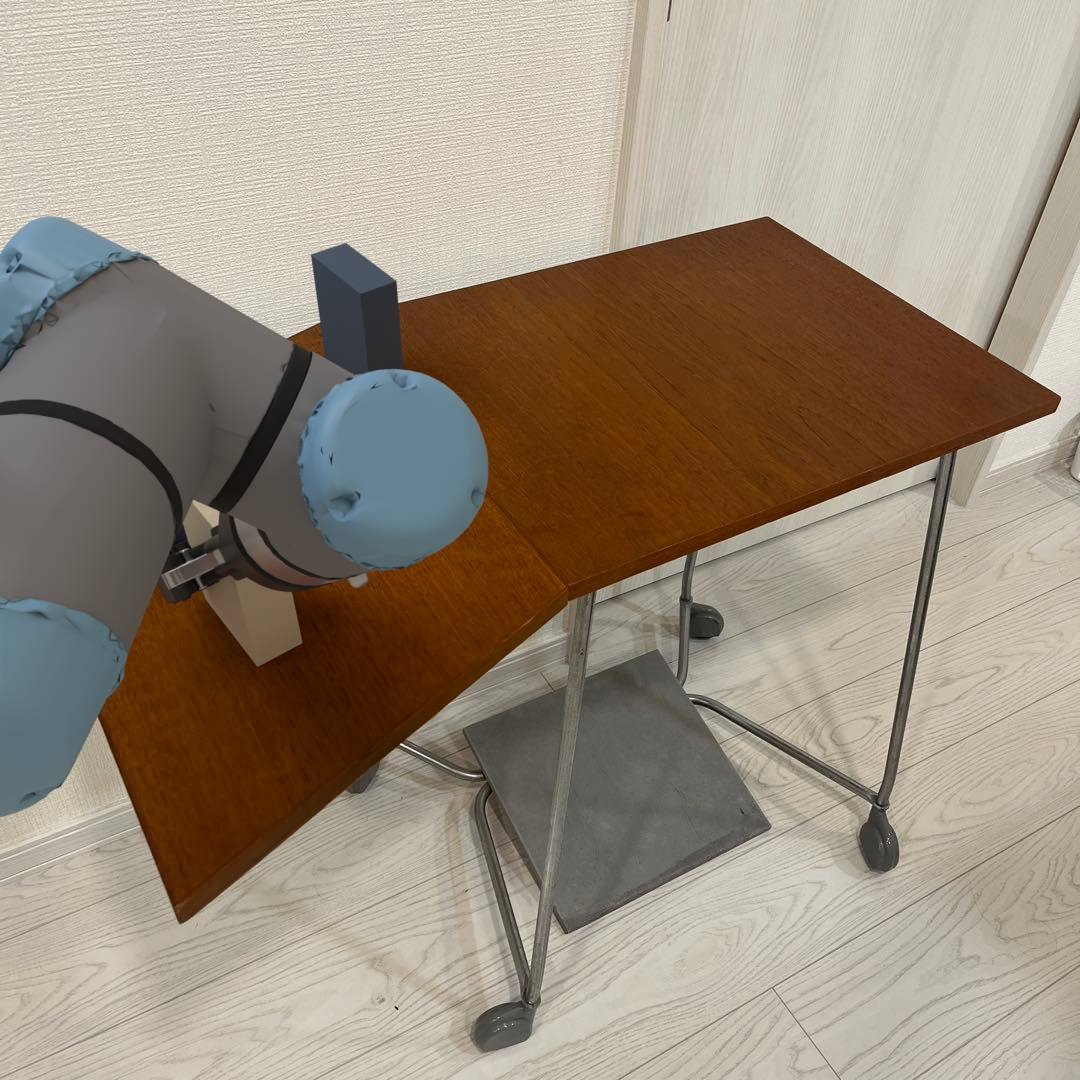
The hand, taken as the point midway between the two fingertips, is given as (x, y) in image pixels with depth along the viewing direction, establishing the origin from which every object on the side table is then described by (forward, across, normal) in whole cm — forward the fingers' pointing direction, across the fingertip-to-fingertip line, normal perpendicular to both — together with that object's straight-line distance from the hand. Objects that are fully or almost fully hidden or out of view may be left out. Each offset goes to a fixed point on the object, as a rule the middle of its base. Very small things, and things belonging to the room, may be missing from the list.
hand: (220, 559), depth 72 cm
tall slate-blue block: (+14, +22, +9) cm, 27 cm away
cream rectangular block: (0, 0, -5) cm, 5 cm away
